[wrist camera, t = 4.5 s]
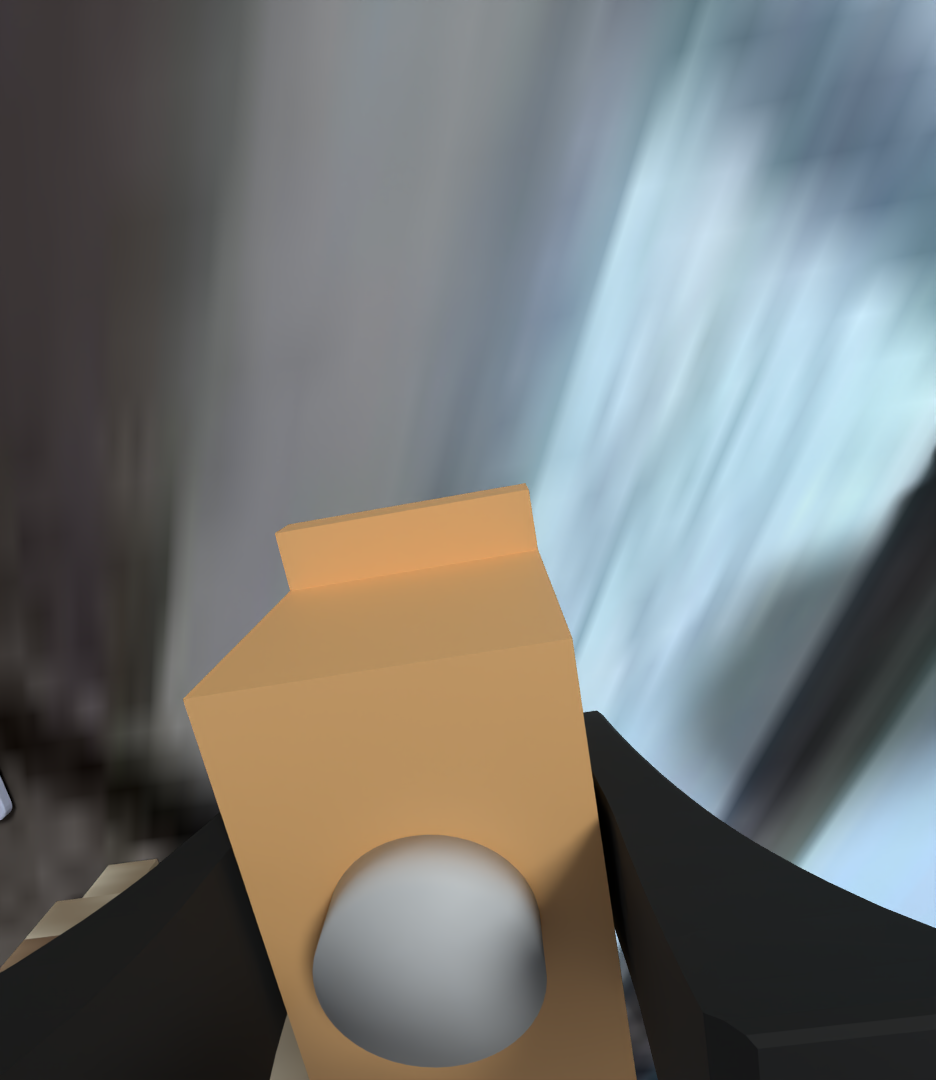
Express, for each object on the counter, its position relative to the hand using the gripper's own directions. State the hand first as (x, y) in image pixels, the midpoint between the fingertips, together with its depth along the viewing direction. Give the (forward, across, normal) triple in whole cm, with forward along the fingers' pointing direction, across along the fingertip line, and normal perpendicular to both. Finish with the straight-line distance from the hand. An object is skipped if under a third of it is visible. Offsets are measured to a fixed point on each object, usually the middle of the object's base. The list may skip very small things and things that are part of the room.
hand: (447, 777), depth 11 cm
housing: (+2, 0, 0) cm, 2 cm away
